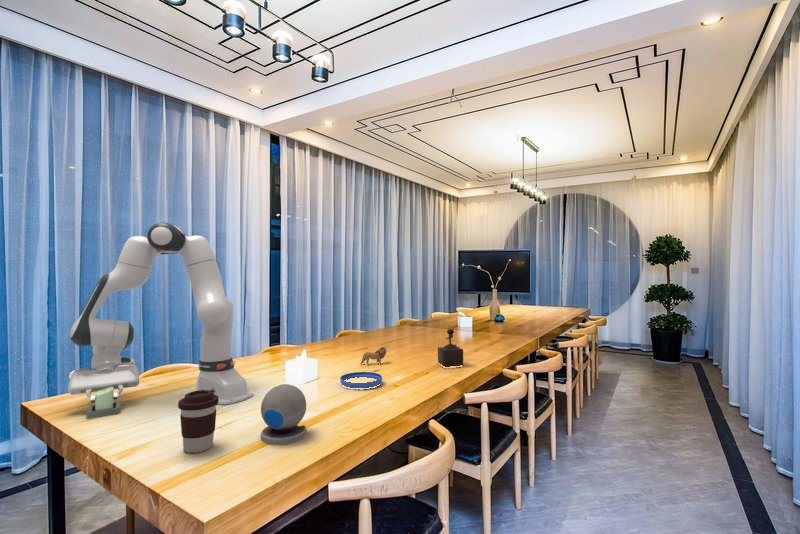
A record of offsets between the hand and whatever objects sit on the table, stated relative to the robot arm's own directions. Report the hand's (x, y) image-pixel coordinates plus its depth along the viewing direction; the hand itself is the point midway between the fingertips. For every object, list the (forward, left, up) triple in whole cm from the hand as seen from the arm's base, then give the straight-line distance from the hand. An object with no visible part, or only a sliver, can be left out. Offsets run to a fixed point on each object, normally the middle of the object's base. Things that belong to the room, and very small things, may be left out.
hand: (104, 400), depth 137 cm
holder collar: (+1, 0, -4) cm, 4 cm away
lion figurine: (-45, -105, -5) cm, 114 cm away
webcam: (-68, -14, -5) cm, 70 cm away
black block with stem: (-80, -122, -5) cm, 146 cm away
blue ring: (-59, -70, -5) cm, 92 cm away
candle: (+1, 0, -5) cm, 5 cm away
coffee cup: (-53, +3, -5) cm, 54 cm away
